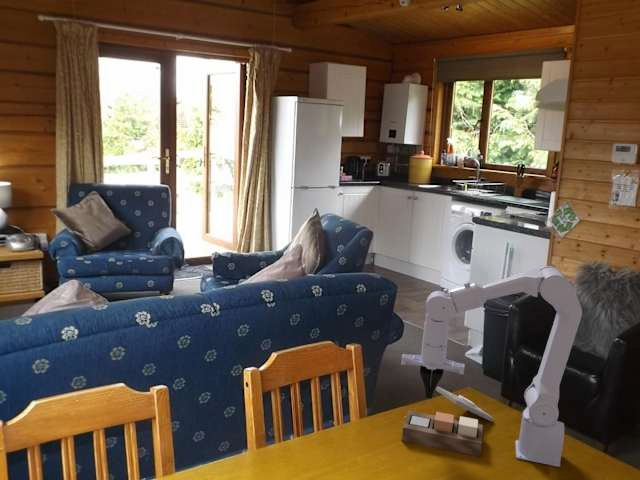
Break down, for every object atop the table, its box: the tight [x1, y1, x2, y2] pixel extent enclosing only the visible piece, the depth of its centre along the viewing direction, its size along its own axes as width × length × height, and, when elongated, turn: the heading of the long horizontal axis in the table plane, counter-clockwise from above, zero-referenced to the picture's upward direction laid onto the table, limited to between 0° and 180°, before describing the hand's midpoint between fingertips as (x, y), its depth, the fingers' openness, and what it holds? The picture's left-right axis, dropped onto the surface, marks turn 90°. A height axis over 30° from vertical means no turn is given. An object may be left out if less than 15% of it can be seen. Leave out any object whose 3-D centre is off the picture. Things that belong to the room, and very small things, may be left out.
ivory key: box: [458, 416, 479, 438], centre depth 142 cm, size 4×4×3 cm
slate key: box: [410, 416, 430, 428], centre depth 145 cm, size 4×4×3 cm
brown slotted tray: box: [401, 410, 483, 458], centre depth 144 cm, size 18×9×4 cm, turn 74°
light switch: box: [435, 386, 495, 423], centre depth 155 cm, size 8×6×14 cm
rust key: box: [434, 411, 455, 433], centre depth 143 cm, size 4×4×3 cm
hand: (429, 396), depth 143 cm, fingers closed
